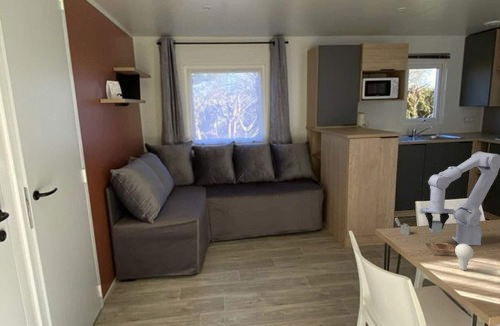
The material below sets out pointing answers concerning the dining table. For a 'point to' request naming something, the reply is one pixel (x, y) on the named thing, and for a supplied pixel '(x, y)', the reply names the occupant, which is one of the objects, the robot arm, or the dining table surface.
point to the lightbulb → (463, 255)
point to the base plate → (442, 249)
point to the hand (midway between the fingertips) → (435, 228)
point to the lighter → (403, 227)
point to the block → (436, 227)
